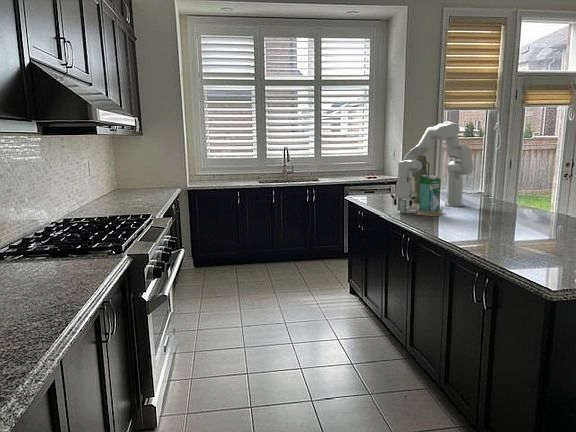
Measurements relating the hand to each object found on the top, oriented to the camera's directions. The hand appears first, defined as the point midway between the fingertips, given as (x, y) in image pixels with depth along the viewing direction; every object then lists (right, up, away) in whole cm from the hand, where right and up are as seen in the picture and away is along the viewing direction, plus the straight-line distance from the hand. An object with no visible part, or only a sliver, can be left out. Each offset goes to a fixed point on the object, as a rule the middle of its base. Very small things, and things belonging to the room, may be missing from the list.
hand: (402, 205), depth 288 cm
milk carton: (+15, -6, -6) cm, 17 cm away
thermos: (+21, +2, +34) cm, 40 cm away
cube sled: (+7, -2, +11) cm, 13 cm away
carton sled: (+10, -5, -4) cm, 12 cm away
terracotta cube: (+11, -3, +9) cm, 14 cm away
